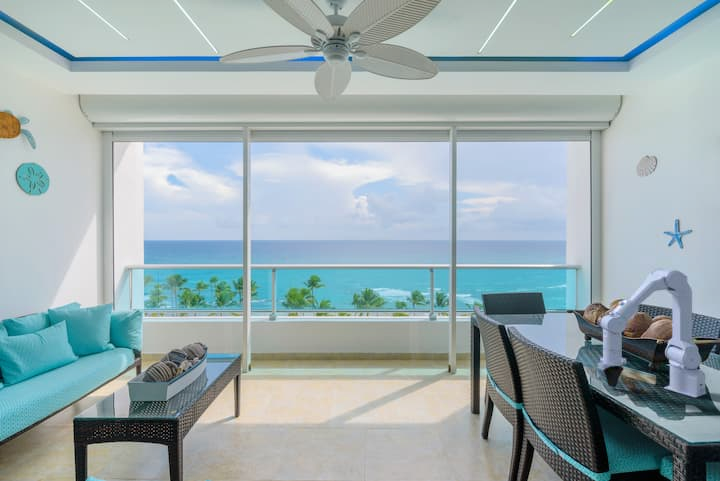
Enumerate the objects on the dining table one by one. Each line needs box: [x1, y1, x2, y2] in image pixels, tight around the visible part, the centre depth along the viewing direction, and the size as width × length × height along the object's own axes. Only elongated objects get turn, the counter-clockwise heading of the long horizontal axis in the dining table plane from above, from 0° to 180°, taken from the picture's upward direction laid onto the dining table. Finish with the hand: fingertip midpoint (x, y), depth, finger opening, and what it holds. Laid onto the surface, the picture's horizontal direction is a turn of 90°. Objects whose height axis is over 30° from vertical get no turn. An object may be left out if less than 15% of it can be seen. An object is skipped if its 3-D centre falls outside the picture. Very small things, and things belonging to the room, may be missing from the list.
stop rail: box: [620, 365, 657, 385], centre depth 153 cm, size 12×1×3 cm, turn 28°
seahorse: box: [619, 375, 648, 394], centre depth 147 cm, size 6×15×2 cm, turn 165°
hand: (612, 386), depth 144 cm, fingers closed
